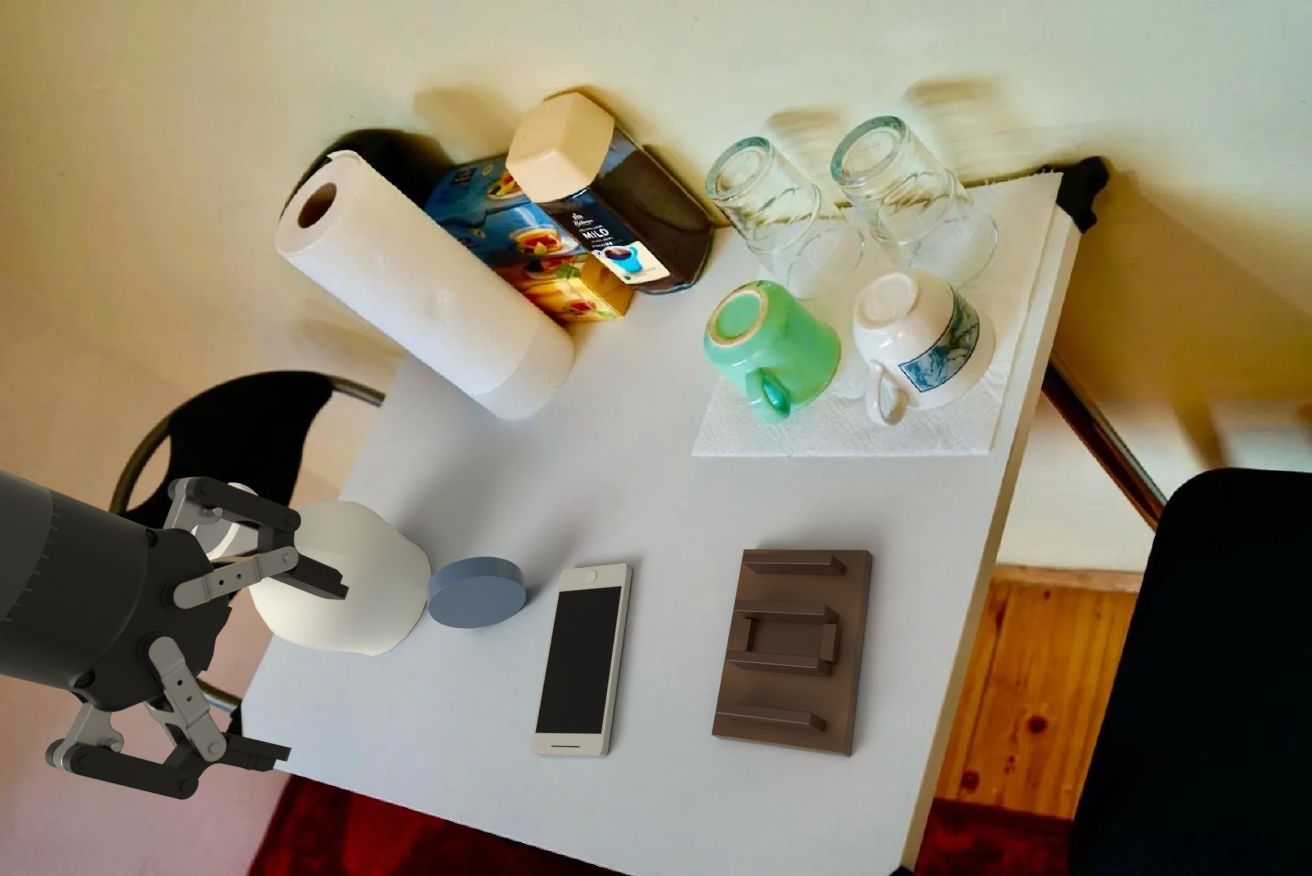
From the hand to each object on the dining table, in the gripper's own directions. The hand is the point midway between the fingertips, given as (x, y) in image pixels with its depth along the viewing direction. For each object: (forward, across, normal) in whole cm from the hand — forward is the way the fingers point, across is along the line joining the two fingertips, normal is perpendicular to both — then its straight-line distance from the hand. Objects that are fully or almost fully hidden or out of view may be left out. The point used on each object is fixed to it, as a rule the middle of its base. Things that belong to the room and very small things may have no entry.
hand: (310, 670), depth 48 cm
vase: (+28, +12, +32) cm, 44 cm away
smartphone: (+28, +8, +5) cm, 30 cm away
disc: (+24, +12, +15) cm, 31 cm away
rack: (+28, +10, -14) cm, 33 cm away
